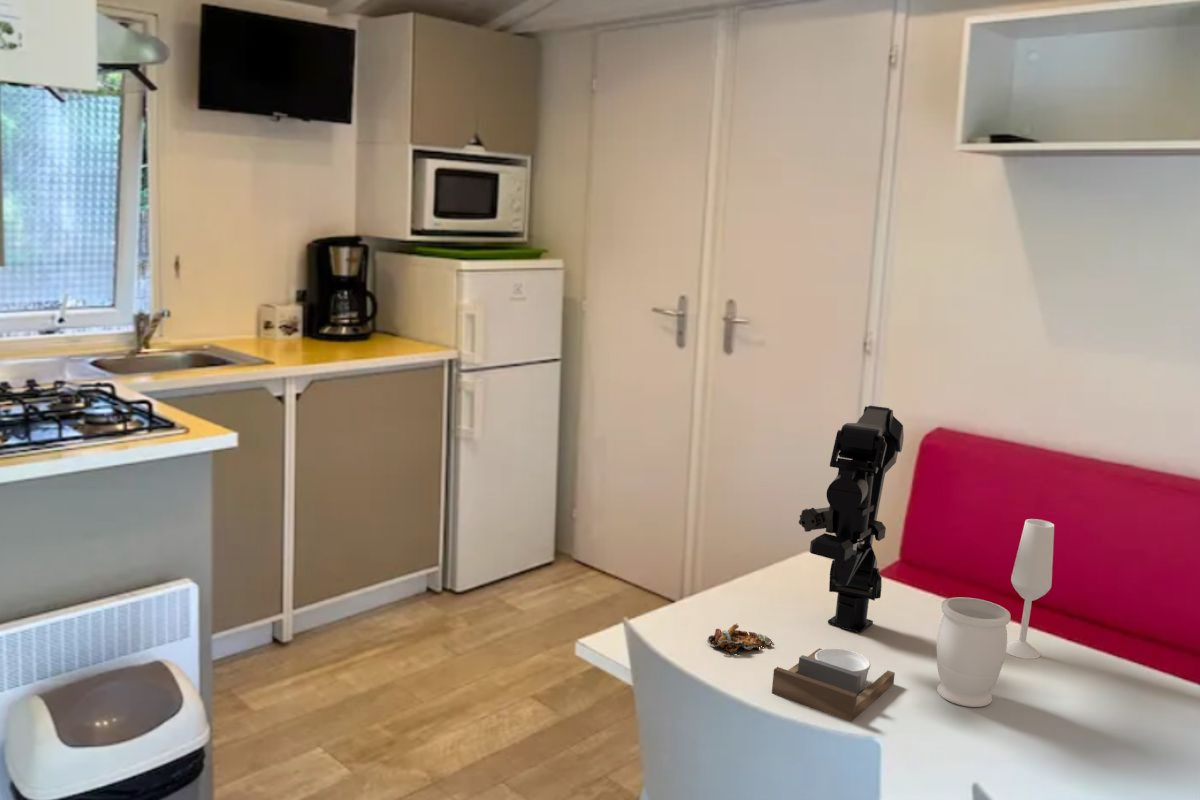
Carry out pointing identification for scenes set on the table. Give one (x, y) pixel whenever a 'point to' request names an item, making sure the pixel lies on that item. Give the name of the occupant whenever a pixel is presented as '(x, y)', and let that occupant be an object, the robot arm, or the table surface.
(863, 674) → the ramekin
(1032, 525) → the champagne flute
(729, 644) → the grilled meat platter
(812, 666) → the block
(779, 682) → the wooden u-shaped frame
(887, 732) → the table surface
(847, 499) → the robot arm
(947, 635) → the jar
